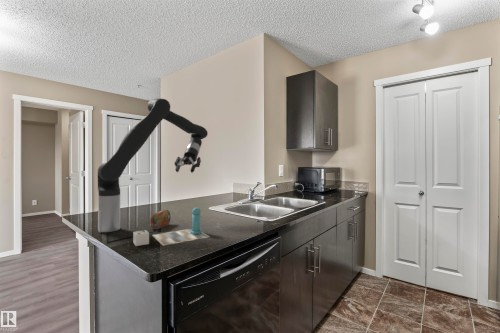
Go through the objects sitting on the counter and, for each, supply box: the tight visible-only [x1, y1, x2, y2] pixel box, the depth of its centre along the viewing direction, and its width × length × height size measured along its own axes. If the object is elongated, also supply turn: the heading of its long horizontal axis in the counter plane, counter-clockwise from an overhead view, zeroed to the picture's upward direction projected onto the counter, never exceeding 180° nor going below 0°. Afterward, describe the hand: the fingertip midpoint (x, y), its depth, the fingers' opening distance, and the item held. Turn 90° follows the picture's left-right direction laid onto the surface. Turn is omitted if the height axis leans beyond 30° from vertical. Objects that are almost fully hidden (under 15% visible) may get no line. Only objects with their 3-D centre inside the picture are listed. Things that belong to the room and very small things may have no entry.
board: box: [151, 228, 211, 247], centre depth 110 cm, size 21×17×1 cm
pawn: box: [190, 206, 203, 235], centre depth 115 cm, size 5×5×12 cm
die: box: [132, 229, 150, 247], centre depth 100 cm, size 5×5×5 cm
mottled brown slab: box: [150, 209, 171, 231], centre depth 125 cm, size 15×3×8 cm, turn 168°
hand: (184, 171), depth 134 cm, fingers open, 8 cm apart
